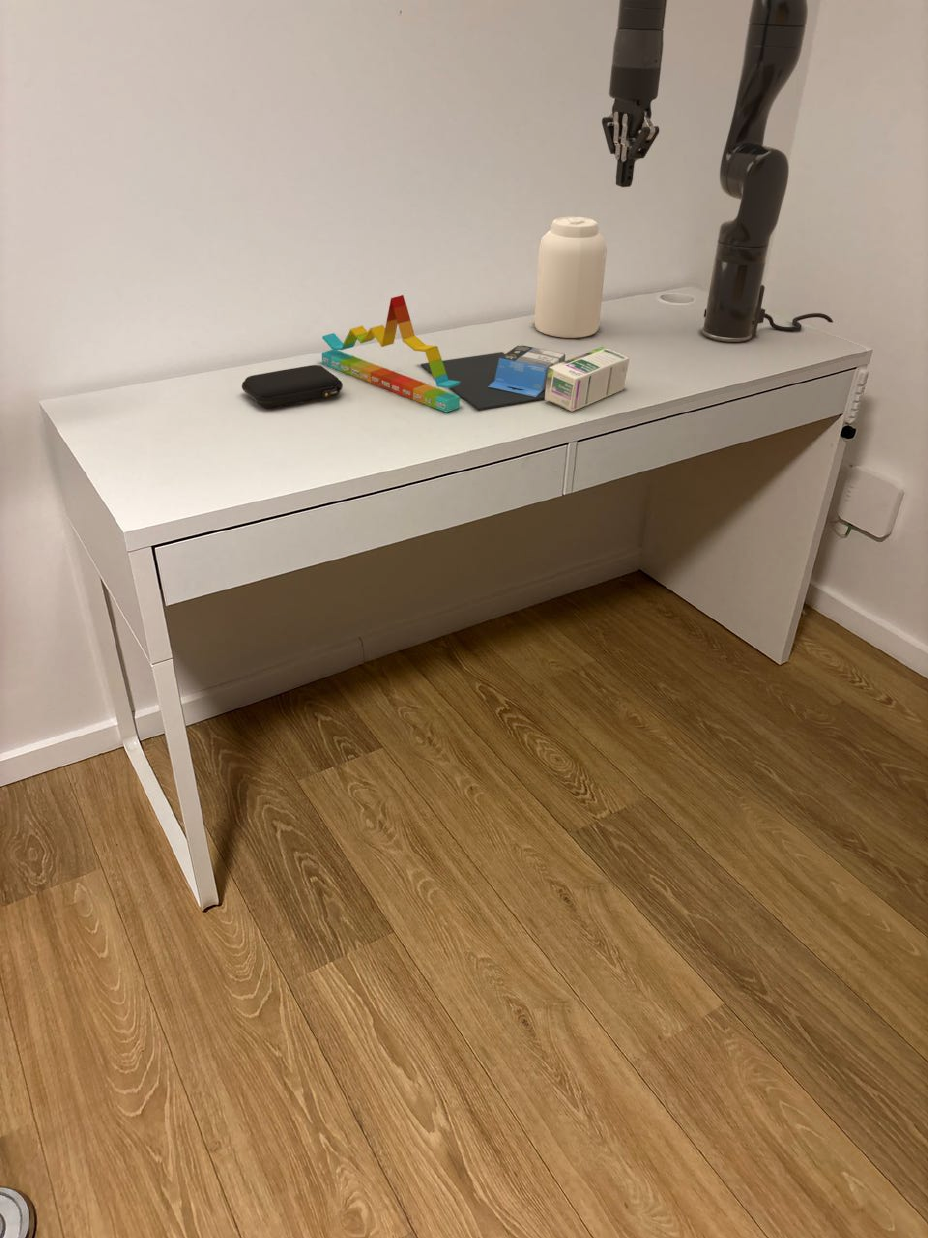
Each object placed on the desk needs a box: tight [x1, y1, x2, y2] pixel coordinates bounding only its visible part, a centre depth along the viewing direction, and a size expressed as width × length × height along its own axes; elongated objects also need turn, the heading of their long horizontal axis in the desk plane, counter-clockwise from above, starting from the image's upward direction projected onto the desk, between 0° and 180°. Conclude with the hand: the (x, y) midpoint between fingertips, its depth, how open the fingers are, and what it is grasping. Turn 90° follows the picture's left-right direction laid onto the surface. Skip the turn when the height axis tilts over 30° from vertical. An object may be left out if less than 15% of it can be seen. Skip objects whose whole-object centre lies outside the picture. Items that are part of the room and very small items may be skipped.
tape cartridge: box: [488, 344, 566, 397], centre depth 162 cm, size 9×4×12 cm
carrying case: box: [241, 364, 344, 409], centre depth 155 cm, size 11×3×15 cm
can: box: [534, 215, 608, 339], centre depth 182 cm, size 12×12×20 cm
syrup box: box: [544, 346, 630, 413], centre depth 157 cm, size 6×6×14 cm
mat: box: [420, 351, 546, 411], centre depth 164 cm, size 16×22×1 cm
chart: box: [321, 294, 461, 414], centre depth 157 cm, size 30×3×15 cm, turn 46°
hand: (623, 185), depth 157 cm, fingers closed
